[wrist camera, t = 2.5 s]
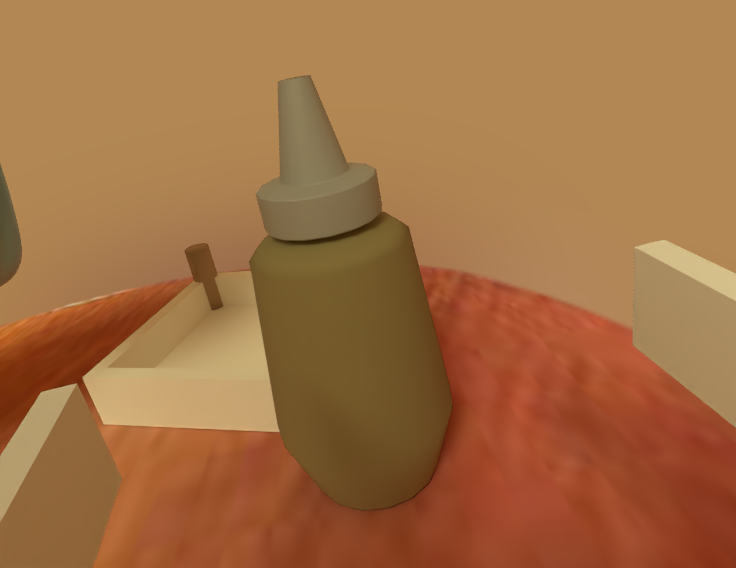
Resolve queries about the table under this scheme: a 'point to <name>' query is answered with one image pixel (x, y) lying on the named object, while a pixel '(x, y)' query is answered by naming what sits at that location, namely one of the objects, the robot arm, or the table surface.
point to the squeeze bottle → (345, 320)
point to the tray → (192, 360)
